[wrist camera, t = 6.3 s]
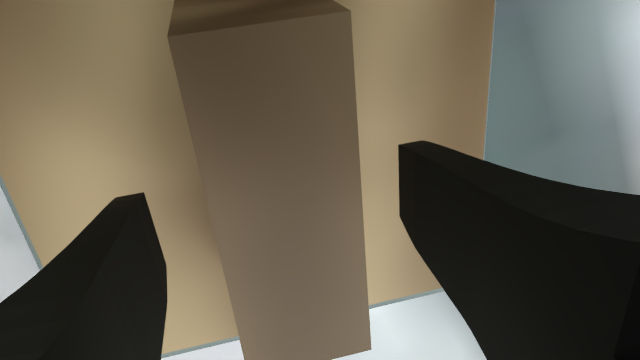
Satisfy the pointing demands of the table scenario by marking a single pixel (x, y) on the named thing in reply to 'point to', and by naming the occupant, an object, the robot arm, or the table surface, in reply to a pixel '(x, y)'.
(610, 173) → the table surface
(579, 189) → the robot arm
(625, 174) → the table surface
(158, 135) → the oak lid
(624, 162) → the table surface
